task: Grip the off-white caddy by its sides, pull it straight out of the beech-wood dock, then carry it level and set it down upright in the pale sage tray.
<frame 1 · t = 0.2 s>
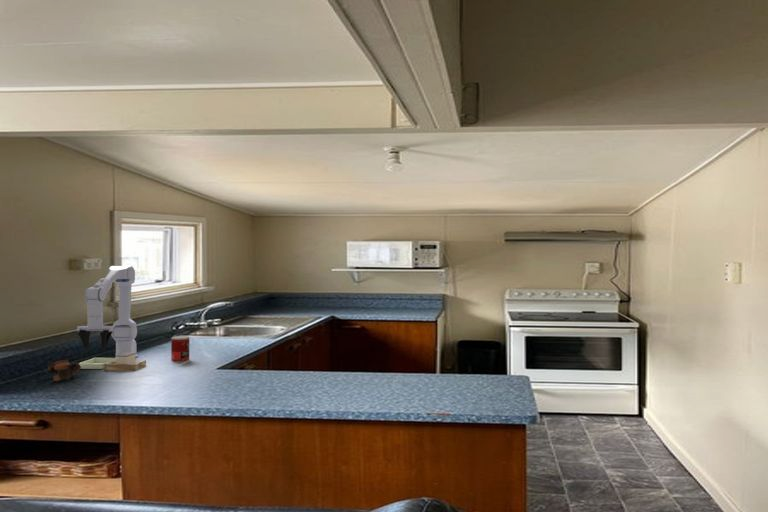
hand: (95, 348, 215), 10 cm above the table, tool pointing down, fingers open, 7 cm apart
toy turtle: (63, 379, 204), on the table
tray: (98, 366, 225), on the table
canned food: (180, 361, 239), on the table
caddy: (125, 367, 221), resting on dock
dock: (125, 368, 221), on the table
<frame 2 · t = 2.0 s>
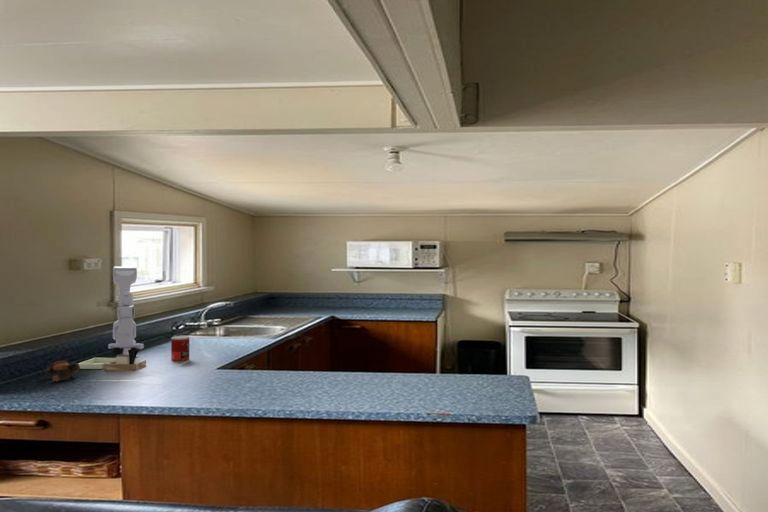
hand: (125, 365, 221), 2 cm above the table, tool pointing down, fingers closed on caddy, 4 cm apart
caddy: (125, 367, 221), resting on dock, touching gripper
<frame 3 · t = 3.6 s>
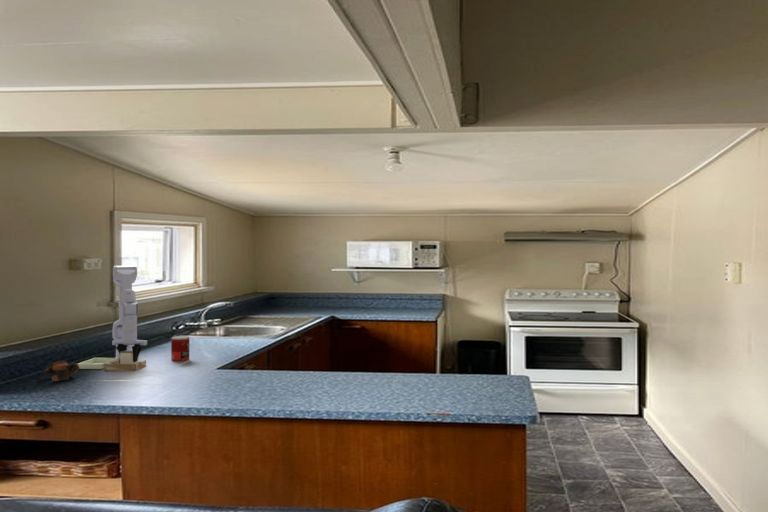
hand: (129, 361, 224), 3 cm above the table, tool pointing down, fingers closed on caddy, 4 cm apart
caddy: (129, 364, 224), point 1 cm above the table, touching gripper
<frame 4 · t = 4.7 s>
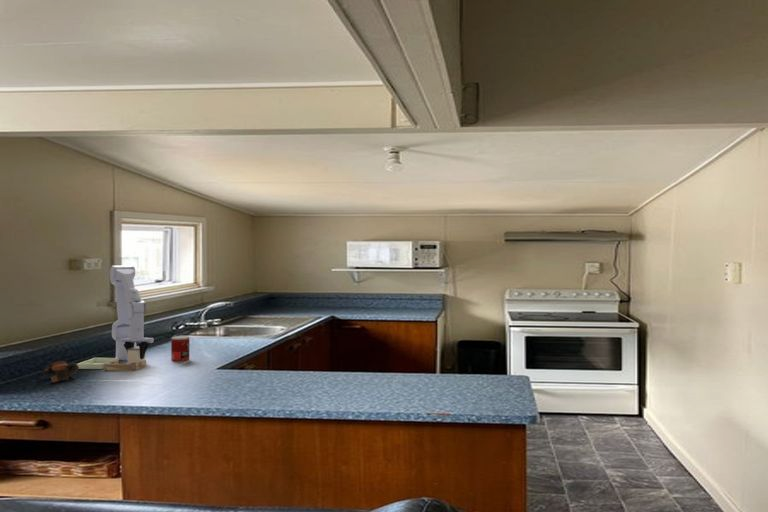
hand: (136, 358, 230), 3 cm above the table, tool pointing down, fingers closed on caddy, 4 cm apart
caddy: (136, 361, 230), point 1 cm above the table, touching gripper
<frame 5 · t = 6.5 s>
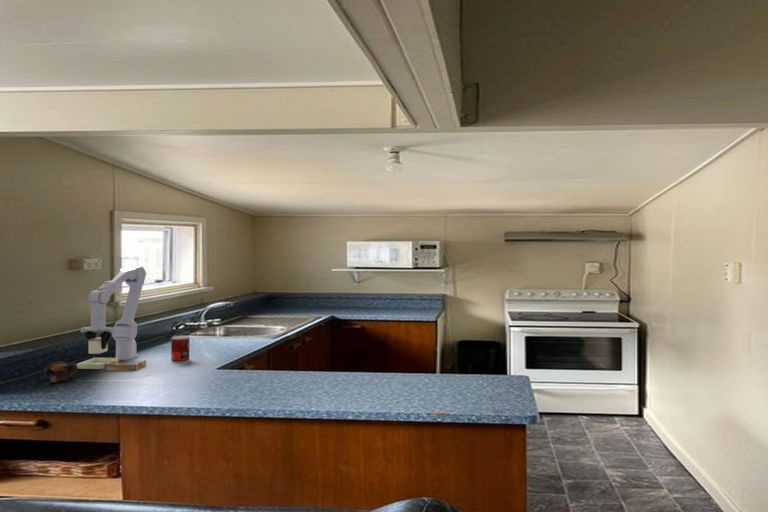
hand: (98, 348, 225), 8 cm above the table, tool pointing down, fingers closed on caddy, 4 cm apart
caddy: (98, 352, 225), point 6 cm above the table, touching gripper
when the fingers open (3 cm above the table, at t = 7.7 s): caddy drops 1 cm, resting on tray.
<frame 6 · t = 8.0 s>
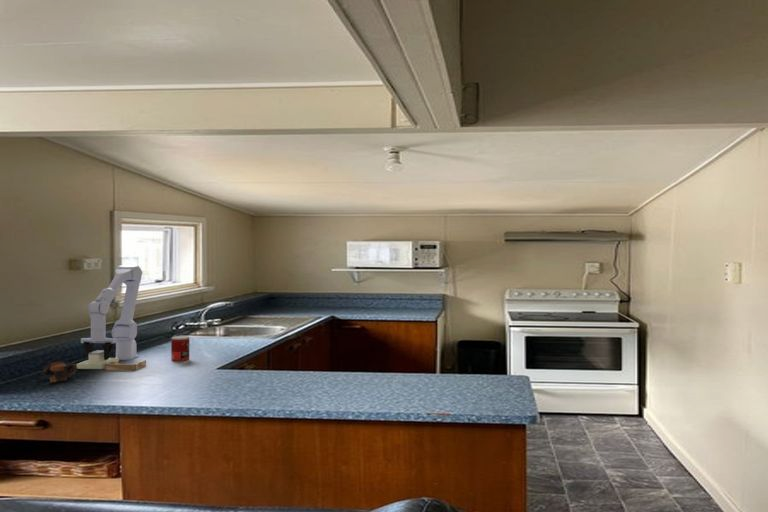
hand: (98, 359, 225), 3 cm above the table, tool pointing down, fingers open, 7 cm apart
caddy: (98, 365, 225), resting on tray
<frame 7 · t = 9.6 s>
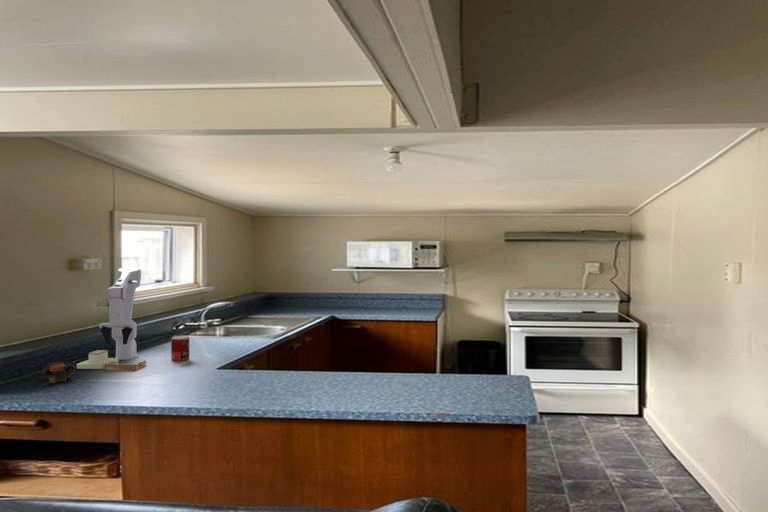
hand: (116, 344, 228), 9 cm above the table, tool pointing down, fingers open, 7 cm apart
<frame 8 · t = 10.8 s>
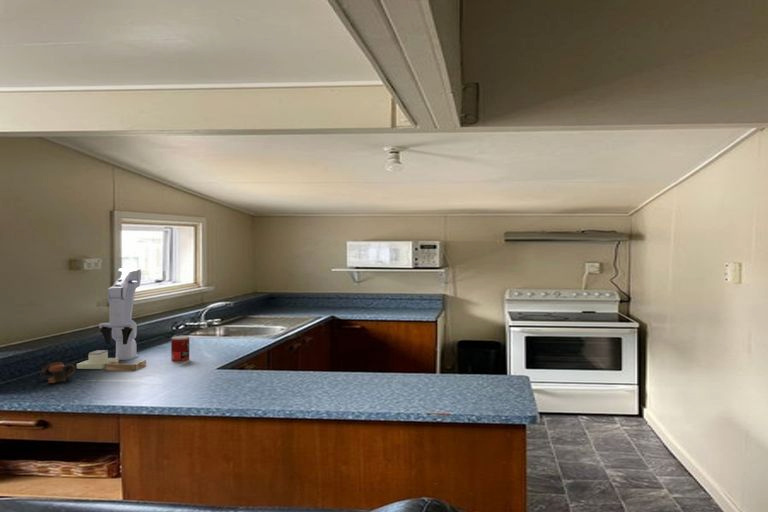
hand: (116, 344, 228), 9 cm above the table, tool pointing down, fingers open, 7 cm apart
at the end: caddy 0.0 cm off-centre on the tray, point 0.5 cm above the tray's base; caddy tilted 0°; the gripper is holding nothing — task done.
